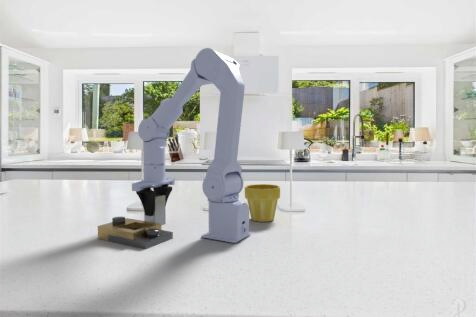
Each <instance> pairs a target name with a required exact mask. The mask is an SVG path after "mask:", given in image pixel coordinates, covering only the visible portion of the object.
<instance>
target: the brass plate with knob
mask: <svg viewBox="0 0 476 317" xmlns="http://www.w3.org/2000/svg"><path fill="white" fill-rule="evenodd" d="M111 221H112V222H111ZM111 221H110V222H108V223H104V224H101V225H98V226H97V239H98V240H102V239H103V241H108V242H111V241H112V243H116V242H117V244H121V245H125V246H130V247H135V248H138V249H142V250H145V249H149V248H151V247H153V246H156V245H159V244H162V243H165V242H167V241H169V240H171V239H173V238H174V237H173V236H174V235H173V234H174V232H173V231H170V230H163V229H162V225H161V224H159V223H153V222H147V221H144V220H140V219H135V218H129V217H127V218H126V217H125V216H115V217H112V220H111Z"/></svg>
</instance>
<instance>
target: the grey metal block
mask: <svg viewBox="0 0 476 317" xmlns="http://www.w3.org/2000/svg"><path fill="white" fill-rule="evenodd" d="M143 214H144V215H143V216H144V217H143V221H147V222H153V223H159V224H161V226H163V225H165V224H166V222H167V221H166V220H167V219H166V207H165V195H160V194H156V195H155V199H154V209H153V216H146V215H145V212H144V211H143Z"/></svg>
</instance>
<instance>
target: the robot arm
mask: <svg viewBox="0 0 476 317" xmlns="http://www.w3.org/2000/svg"><path fill="white" fill-rule="evenodd" d="M240 67H241V66H240V64H239V62H237V61H236V60H235V59H234V58H233V57H231V56H230V55H226V54H223V53H221V52H219V51H216V50H214V49H212V48H211V47H205V48H202V49H200V51H198V53H197V54H196V56H195V57H194V58H193V59H192V60H191V63H190V69H189V71H188V73H187V74H186V76H184V79H183V80H182V82H181V83H180V85H179V86H178V87H177V89H176V90H175V92H174V94H173V95H172V96H171V97H170V98H169V97H168V98H167V97H166V98H164V99H162V100H161V101H160V103H159V104H160V105H159V106H158V107H157V108H156V110H155V111H154V112H153V113H152V114H150V116H149V117H148V118H144V119H142V120H141V121H140V123H139V125H138V126H137V127H138V129H137V133H138V136H139V137H140V139H141V140H142V142H143V144H142V148H143V150H142V152H143V154H142V156H143V157H142V158H143V161H142V162H143V179H141V180H140V181H137V182H132V183H131V191H132V192H135V193H136V195H137V197H138V199H139V200H140V202H141V205H142V208H143V213H144V212H145V215H146V216H153V209H154V199H155V195H156V194H160V195H165V208H166V206H167V203H168V200H169V196H170V195H171V193H172V191H173V186H174V185H175V184H176V183H175V177H166V146H167V140H168V139H169V136H170V133H171V131H170V129H171V128H172V126H174V124H175V123H176V122H177V121H178V120H179V118H180V117H181V116H182V115H183V112H184V111H183V106H184V105H185V104H186V103H188V101H189V100H190V99H191V98H192V97H193V96H194V95H195V94H196V92H197V91H198V90H199V89H200V88H201V87H202V86H206V85H212V84H213V86H214V87H215V88H217V89H218V91H219V92H220V96H219V106H218V117H217V128H216V136H215V147H214V156H213V157H214V158H213V160H212V161H211V162H210V164H209V166H208V167H207V168H206V170H207V171H206V175H205V177H204V179H203V181H202V185H201V186H202V191H203V192H202V193H203V194H204V196H205V197H206V198H207V202H208V231H207V232H205V233H203V234H201V235H200V236H201V238H206V239H211V240H216V241H221V242H228V243H232V244H236V243H238V242H240V241H241V240H243V239H245V238H247V237H249V236H250V235H251V232H250V210H249V205H248V202H245V201H241V200H239V198H240V197H239V196H240V193H241V192H242V191H243V188H244V178H243V174H242V166H241V165H240V163H239V162H238V153H239V145H240V144H239V143H240V135H241V133H240V132H241V125H242V115H243V107H244V97H245V83H244V80H243V77H242V74H241V72H240Z"/></svg>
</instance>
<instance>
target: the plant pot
mask: <svg viewBox="0 0 476 317" xmlns="http://www.w3.org/2000/svg"><path fill="white" fill-rule="evenodd" d="M244 199H246V200H247V204H248V207H249V216H250V219H251V220H252V221H254V222H257V223H258V222H259V223H261V222H263V223H264V222H265V223H266V222H268V223H269V222H272V221H274V220H275V216H276V210H277V205H278V200H279V199H281V186H279V185H277V184H268V183H267V184H266V183H262V184H261V183H260V184H259V183H258V184H257V183H256V184H248V185H245V186H244Z"/></svg>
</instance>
